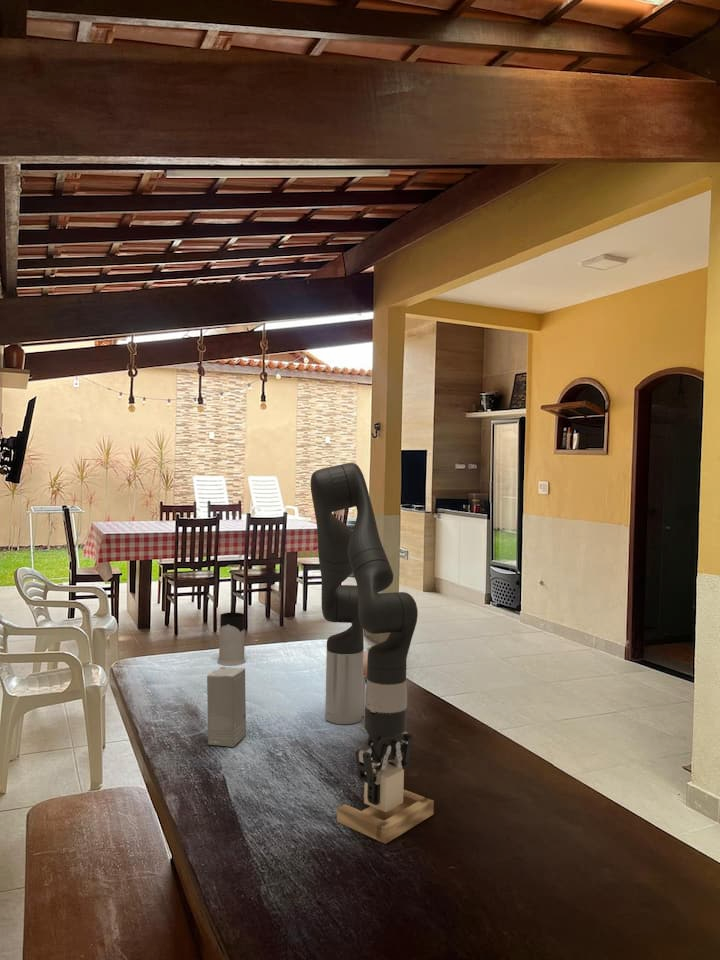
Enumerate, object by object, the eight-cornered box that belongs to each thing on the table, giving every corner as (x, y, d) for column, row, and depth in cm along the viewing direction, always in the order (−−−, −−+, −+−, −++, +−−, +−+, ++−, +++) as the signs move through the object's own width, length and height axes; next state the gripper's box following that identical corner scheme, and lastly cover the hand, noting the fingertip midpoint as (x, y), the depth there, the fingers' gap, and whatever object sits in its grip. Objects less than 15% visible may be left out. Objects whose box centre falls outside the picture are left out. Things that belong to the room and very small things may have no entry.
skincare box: (234, 748, 160) (235, 677, 160) (203, 745, 162) (205, 674, 162) (247, 734, 169) (248, 667, 168) (218, 731, 170) (220, 664, 170)
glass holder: (213, 664, 226) (214, 616, 226) (229, 653, 240) (229, 608, 240) (240, 666, 225) (241, 618, 225) (254, 655, 239) (255, 609, 239)
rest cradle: (385, 795, 139) (386, 782, 139) (433, 814, 132) (433, 800, 132) (336, 821, 128) (337, 807, 128) (385, 843, 121) (386, 829, 121)
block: (381, 794, 134) (382, 761, 134) (403, 802, 131) (403, 769, 131) (364, 803, 130) (364, 769, 130) (385, 812, 127) (386, 778, 127)
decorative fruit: (351, 678, 215) (352, 644, 215) (376, 675, 219) (377, 642, 219) (365, 687, 207) (366, 652, 207) (390, 684, 210) (391, 649, 210)
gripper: (393, 690, 138) (391, 779, 138) (343, 708, 127) (341, 804, 127) (426, 699, 133) (423, 791, 133) (376, 719, 122) (374, 819, 123)
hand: (383, 797), depth 130 cm, fingers closed on block, 5 cm apart
